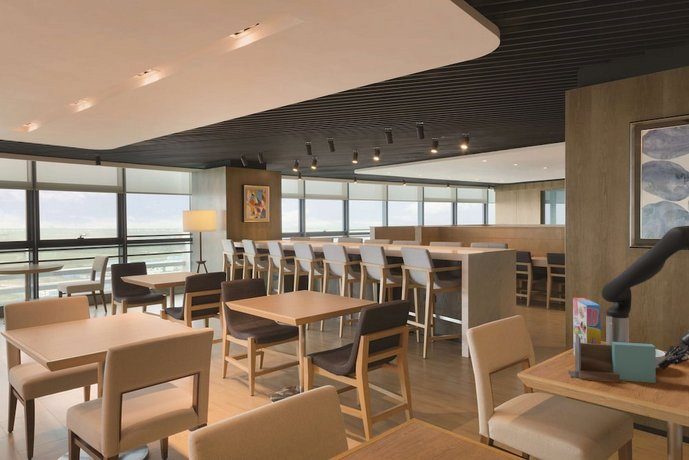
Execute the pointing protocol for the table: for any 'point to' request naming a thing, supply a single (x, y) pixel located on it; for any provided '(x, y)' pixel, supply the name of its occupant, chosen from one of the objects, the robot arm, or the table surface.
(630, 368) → the book box
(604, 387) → the table surface
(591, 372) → the shelf slot
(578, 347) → the bookend
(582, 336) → the game box
